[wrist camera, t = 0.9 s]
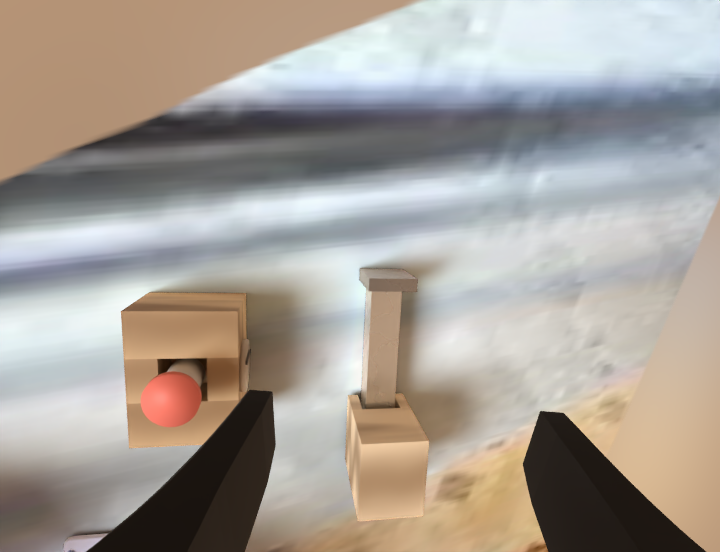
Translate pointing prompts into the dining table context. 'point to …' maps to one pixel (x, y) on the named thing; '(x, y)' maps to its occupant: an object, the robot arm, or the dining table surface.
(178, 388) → the plunger
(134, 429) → the wooden box with dial
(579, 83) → the dining table surface
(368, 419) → the block
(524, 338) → the dining table surface
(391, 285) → the rail
